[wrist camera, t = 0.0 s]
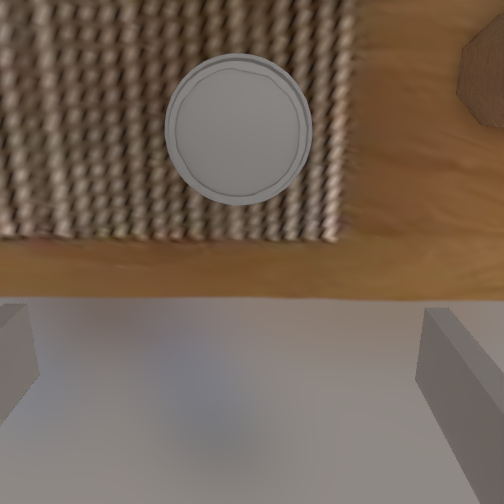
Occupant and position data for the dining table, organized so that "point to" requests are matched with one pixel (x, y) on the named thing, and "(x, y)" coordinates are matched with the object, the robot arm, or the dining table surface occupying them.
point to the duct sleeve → (484, 75)
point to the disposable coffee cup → (238, 129)
